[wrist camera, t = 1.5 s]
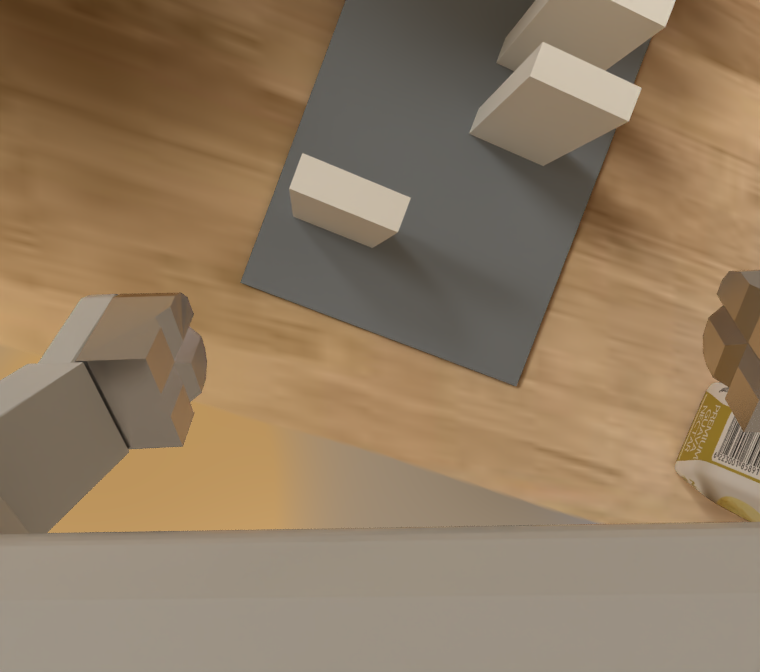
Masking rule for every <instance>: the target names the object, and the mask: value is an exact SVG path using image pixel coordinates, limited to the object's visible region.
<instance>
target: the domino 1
mask: <svg viewBox="0 0 760 672" xmlns="http://www.w3.org/2000/svg"><path fill="white" fill-rule="evenodd" d="M675 1H676V0H535V2H534V3H533V4H532V5H531V7H530V8H529V9H528V10H527V12H526V13H525V14H524V15H523V17H522V18H521V19H520V20H519V22H518V23H517V24H516V25H515V27H514V28H513V29H512V30H511V32H510V33H509V34H508V35H507V37H506V38H505V41H504V43H503V46H502V48H501V51H500V54H499V56H498V59H497V62H496V63H497V64H499V65H502V66H504V67H506V68H508V69H510V70H513V71H515V70H516V69H517V68H518V67H519V66H520V65H521V64H522V63H523V62H524V61H525V60H526V59H527V58H528V57H529V56H530V55H531V54H532V53H533V52H534V51H535V49H536V48H537V47H538V46H539V45H540V44H541V43H542V42H545V43H547V44H549V45H551V46H553V47H555V48H558V49H560V50H562V51H564V52H566V53H568V54H570V55H573V56H575V57H577V58H579V59H581V60H583V61H585V62H587V63H590V64H592V65H594V66H596V67H598V68H600V69H602V70H605V71H606V70H607V69H608V68H610V67H611V66H613V65H614V64H615V63H617V62H618V61H619V60H621V59H622V58H623V57H625V56H626V55H628V54H629V53H630V52H632V51H633V50H634V49H636V48H637V47H639V46H640V45H641V44H643V43H644V42H645V41H647V40H648V39H650V38H651V37H652V36H654V35H655V34H656V33H658V32H659V31H661V30H662V29H663V28H665V27H666V24H667V22H668V19H669V16H670V14H671V11H672V9H673V6H674V4H675Z"/></svg>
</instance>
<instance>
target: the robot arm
mask: <svg viewBox="0 0 760 672" xmlns="http://www.w3.org/2000/svg"><path fill="white" fill-rule="evenodd" d="M717 295H718V297H719V299H720V301H721V302H722V304H723V306H722V307H721V308H720V309H718V310H717V311H716V312H715V313H714V314H712V315H711V316H710V317H709V318H708V321H707V324H706V327H705V330H704V334H703V354H704V358H705V362H706V365H707V367H708V369H709V371H710V373H711V375H712V377H713V378H715V379H716V380H718V381H720V382H721V383H723V384H724V385H726V386H728V387H729V390H728V392H727V395H726V397H725V400H726V402H727V404H728V405H729V407H730V409H731V411H732V412H733V414H734V416H735V418H736V419H737V421H738V423H739V425H740V426H741V428H742V430H743V432H760V270H743V271H729V272H728V273H727V275H726V276H725V277H724V278H723V280H722V282H721V284H720V287H719V290H718V292H717ZM193 315H194V313H193V311H192V308H191V305H190V303H189V300H188V298H187V297H186V296H185V295H184V294H182V293H138V294H119V295H118V294H102V295H88V296H86V297H83V298H81V299H80V301H79V302H78V304H77V305H76V307H75V308H74V310H73V311H72V313H71V314H70V316H69V317H68V319H67V320H66V322H65V323H64V325H63V326H62V328H61V329H60V331H59V332H58V334H57V335H56V337H55V338H54V340H53V341H52V343H51V344H50V346H49V347H48V349H47V350H46V352H45V353H44V355H43V356H42V358H41V359H40V361H39V362H38V364H27V365H25V366H23V367H22V368H20V369H19V370H17V371H15V372H13V373H12V374H10V375H8V376H7V377H5V378H3V379H2V380H0V672H760V522H706V523H643V524H580V525H523V526H522V525H519V526H461V527H460V526H459V527H396V528H336V529H277V530H212V531H153V532H152V531H151V532H92V533H91V532H90V533H47V532H48V531H49V530H50V529H51V528H52V527H53V526H54V525H55V524H56V523H57V522H59V521H60V520H61V518H62V517H64V516H65V515H66V514H67V513H68V512H69V511H70V510H71V509H72V508H73V507H74V506H75V505H76V504H77V503H78V502H79V501H80V500H81V499H82V498H83V497H84V496H85V495H86V494H87V493H88V492H89V491H90V490H91V489H92V488H93V487H94V486H95V485H96V484H97V483H98V482H99V481H100V480H101V479H102V478H103V477H104V476H105V475H106V474H107V473H108V472H109V471H110V470H111V469H112V468H113V467H114V466H115V465H116V464H118V463H119V461H120V460H122V459H123V458H124V457H125V456H126V455H127V453H129V450H128V449H142V448H160V447H181V446H183V445H184V442H185V439H186V436H187V433H188V430H189V427H190V425H191V422H192V419H193V416H194V412H193V409H192V406H191V404H190V402H191V401H192V400H193V399H194V398H196V397H197V396H198V395H199V394H201V393H202V390H203V386H204V383H205V380H206V368H207V359H206V352H205V347H204V344H203V340H202V337H201V336H200V335H199V334H198V333H197V332H195V331H194V330H193V329H192V328H190V327H189V325H190V322H191V320H192V317H193Z"/></svg>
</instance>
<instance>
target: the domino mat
mask: <svg viewBox="0 0 760 672" xmlns="http://www.w3.org/2000/svg"><path fill="white" fill-rule="evenodd" d="M534 2H535V0H346V1H345V4H344V7H343V9H342V12H341V15H340V17H339V20H338V23H337V25H336V28H335V31H334V33H333V36H332V39H331V41H330V44H329V47H328V49H327V52H326V55H325V58H324V60H323V63H322V66H321V68H320V71H319V74H318V76H317V79H316V82H315V84H314V87H313V90H312V92H311V95H310V98H309V100H308V103H307V106H306V108H305V111H304V114H303V116H302V119H301V122H300V124H299V127H298V130H297V132H296V135H295V138H294V140H293V143H292V146H291V149H290V151H289V154H288V157H287V159H286V162H285V165H284V167H283V170H282V173H281V175H280V178H279V181H278V183H277V186H276V189H275V191H274V194H273V197H272V199H271V202H270V205H269V207H268V210H267V213H266V215H265V218H264V221H263V223H262V226H261V229H260V232H259V234H258V237H257V240H256V242H255V245H254V248H253V250H252V253H251V256H250V258H249V261H248V264H247V266H246V269H245V272H244V274H243V277H242V280H241V282H240V283H243V284H246V285H248V286H251V287H254V288H256V289H259V290H262V291H264V292H267V293H270V294H272V295H275V296H277V297H280V298H283V299H285V300H288V301H291V302H293V303H296V304H299V305H301V306H304V307H307V308H309V309H312V310H315V311H317V312H320V313H323V314H325V315H328V316H331V317H333V318H336V319H339V320H341V321H344V322H347V323H349V324H352V325H355V326H357V327H360V328H362V329H365V330H368V331H370V332H373V333H376V334H378V335H381V336H384V337H386V338H389V339H392V340H394V341H397V342H400V343H402V344H405V345H408V346H410V347H413V348H416V349H418V350H421V351H424V352H426V353H429V354H432V355H434V356H437V357H439V358H442V359H445V360H447V361H450V362H453V363H455V364H458V365H461V366H463V367H466V368H469V369H471V370H474V371H477V372H479V373H482V374H485V375H487V376H490V377H493V378H495V379H498V380H501V381H503V382H506V383H509V384H511V385H514V386H517V384H518V381H519V378H520V376H521V373H522V371H523V368H524V366H525V363H526V360H527V358H528V355H529V353H530V350H531V347H532V345H533V342H534V340H535V337H536V335H537V332H538V329H539V327H540V324H541V322H542V319H543V316H544V314H545V311H546V309H547V306H548V304H549V301H550V298H551V296H552V293H553V291H554V288H555V285H556V283H557V280H558V278H559V275H560V273H561V270H562V267H563V265H564V262H565V260H566V257H567V254H568V252H569V249H570V247H571V244H572V242H573V239H574V236H575V234H576V231H577V229H578V226H579V223H580V221H581V218H582V216H583V213H584V211H585V208H586V205H587V203H588V200H589V198H590V195H591V192H592V190H593V187H594V185H595V182H596V179H597V177H598V174H599V172H600V169H601V167H602V164H603V161H604V159H605V156H606V154H607V151H608V148H609V146H610V143H611V141H612V138H613V136H614V133H615V130H616V128H615V129H613V130H611V131H610V132H608V133H606V134H604V135H602V136H600V137H598V138H596V139H594V140H592V141H590V142H588V143H586V144H585V145H583V146H581V147H579V148H577V149H575V150H573V151H571V152H569V153H567V154H565V155H563V156H561V157H560V158H558V159H556V160H554V161H552V162H550V163H548V164H546V165H544V166H542V165H539V164H537V163H535V162H533V161H530V160H528V159H526V158H523V157H521V156H519V155H517V154H514V153H512V152H510V151H507V150H505V149H503V148H500V147H498V146H496V145H494V144H491V143H489V142H487V141H484V140H482V139H480V138H478V137H475V136H473V135H471V134H469V133H470V130H471V127H472V125H473V122H474V119H475V117H476V114H477V112H478V109H479V108H480V107H481V106H482V105H483V104H484V103H485V101H486V100H487V99H488V98H489V97H490V96H491V95H492V94H493V93H494V92H495V91H496V90H497V89H498V88H499V87H500V86H501V85H502V84H503V83H504V82H505V81H506V80H507V79H508V78H509V77H510V75H511V74H512V73H513V72H514V71H513V70H510V69H508V68H506V67H504V66H502V65H499V64H497V63H496V62H497V59H498V56H499V54H500V51H501V48H502V46H503V43H504V41H505V38H506V37H507V35H508V34H509V33H510V32H511V30H512V29H513V28H514V27H515V25H516V24H517V23H518V22H519V20H520V19H521V18H522V17H523V15H524V14H525V13H526V12H527V10H528V9H529V8H530V7H531V5H532V4H533V3H534ZM650 40H651V38H650V39H648V40H647V41H645V42H644V43H643V44H641V45H640V46H639V47H637V48H636V49H634V50H633V51H632V52H630V53H629V54H628V55H626V56H625V57H623V58H622V59H621V60H619V61H618V62H617V63H615V64H614V65H613V66H611V67H610V68H608V69H607V70H606V71H607V72H609V73H611V74H613V75H615V76H617V77H619V78H622V79H624V80H626V81H628V82H630V83H632V84H634V81H635V79H636V76H637V74H638V71H639V68H640V66H641V63H642V61H643V58H644V55H645V53H646V50H647V48H648V45H649V43H650ZM302 153H304V154H306V155H309V156H311V157H314V158H316V159H318V160H321V161H323V162H326V163H328V164H330V165H333V166H335V167H338V168H340V169H343V170H345V171H347V172H350V173H352V174H355V175H357V176H359V177H362V178H364V179H367V180H369V181H372V182H374V183H376V184H379V185H381V186H384V187H386V188H388V189H391V190H393V191H396V192H398V193H401V194H403V195H405V196H408V197H410V198H411V199H410V202H409V204H408V207H407V210H406V212H405V215H404V218H403V220H402V223H401V226H400V228H399V231H398V233H396V234H394V235H393V236H391V237H390V238H388V239H386V240H385V241H383V242H381V243H380V244H378V245H377V246H375V247H373V248H371V247H368V246H366V245H363V244H361V243H358V242H356V241H353V240H351V239H348V238H346V237H343V236H341V235H338V234H336V233H333V232H331V231H328V230H326V229H323V228H320V227H318V226H315V225H313V224H310V223H308V222H305V221H303V220H300V219H298V218H295V217H293V212H292V205H291V198H290V191H289V188H290V185H291V182H292V180H293V177H294V174H295V171H296V169H297V166H298V163H299V161H300V158H301V155H302Z"/></svg>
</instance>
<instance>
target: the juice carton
mask: <svg viewBox="0 0 760 672" xmlns="http://www.w3.org/2000/svg"><path fill="white" fill-rule="evenodd" d="M728 390H729V387H728V386H726V385H724V384H723V383H721V382H719V383H713V384H711V385H710V386H709V387H708V389H707V391H706V393H705V395H704V397H703V400H702V402H701V404H700V407H699V409H698V411H697V414H696V416H695V418H694V421H693V423H692V425H691V428H690V430H689V432H688V435H687V437H686V439H685V442H684V444H683V446H682V449H681V451H680V453H679V456H678V458H677V461H676V464H675V471H676V472H677V473H678V474H679V475H680V476H681V477H682V478H683V479H684V480H686V481H687V482H688V483H689V484H690V485H692V486H693V487H694V488H695V489H697V490H698V491H699V492H700V493H702V494H703V495H704V496H706V497H707V498H708V499H710V500H711V501H713V502H715V503H716V504H718V505H720V506H721V507H723V508H725V509H727V510H729V511H731V512H732V513H734V514H736V515H738V516H740V517H742V518H744V519H746V520H748V521H750V522H760V432H743V430H742V428H741V426H740V425H739V423H738V421H737V419H736V418H735V416H734V414H733V412H732V411H731V409H730V407H729V405H728V404H727V402H726V400H725V397H726V395H727V392H728Z"/></svg>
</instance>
